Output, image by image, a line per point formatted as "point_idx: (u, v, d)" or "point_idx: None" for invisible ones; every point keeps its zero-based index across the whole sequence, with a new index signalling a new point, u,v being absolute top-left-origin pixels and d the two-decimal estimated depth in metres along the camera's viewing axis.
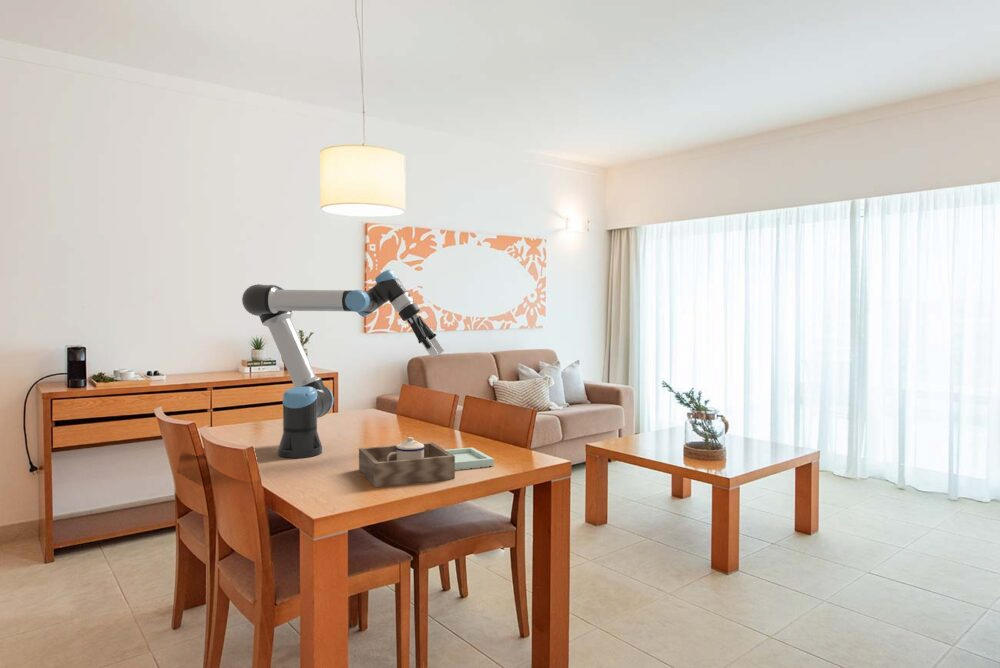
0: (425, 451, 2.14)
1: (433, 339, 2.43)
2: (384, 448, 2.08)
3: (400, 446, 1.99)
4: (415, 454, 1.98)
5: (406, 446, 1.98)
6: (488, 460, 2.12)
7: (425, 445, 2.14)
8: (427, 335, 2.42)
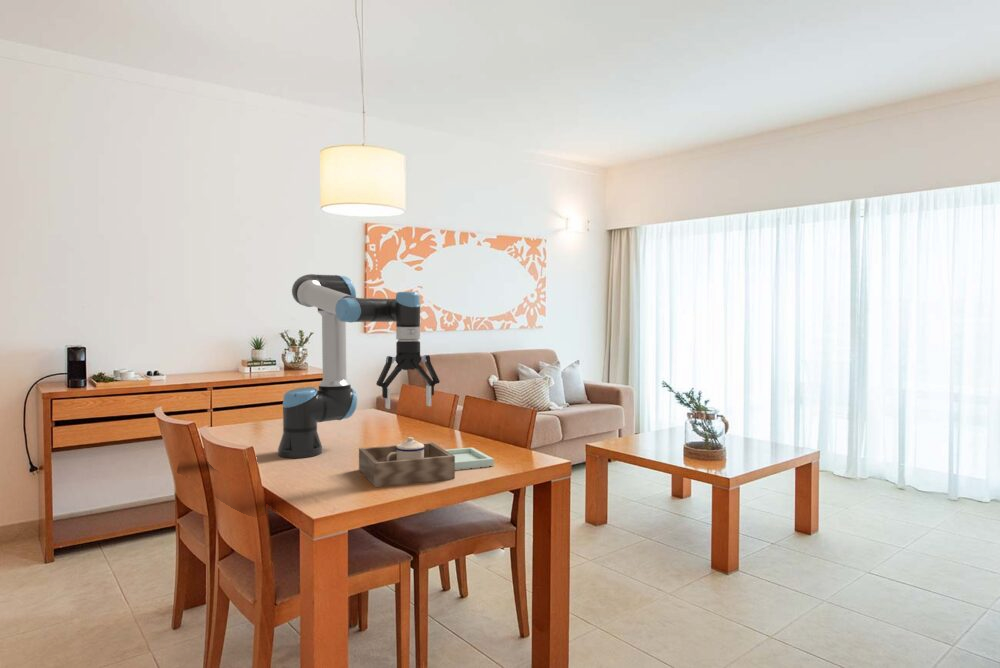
0: (425, 451, 2.14)
1: (428, 387, 2.04)
2: (384, 448, 2.08)
3: (400, 446, 1.99)
4: (415, 454, 1.98)
5: (406, 446, 1.98)
6: (488, 460, 2.12)
7: (425, 445, 2.14)
8: (425, 379, 2.04)
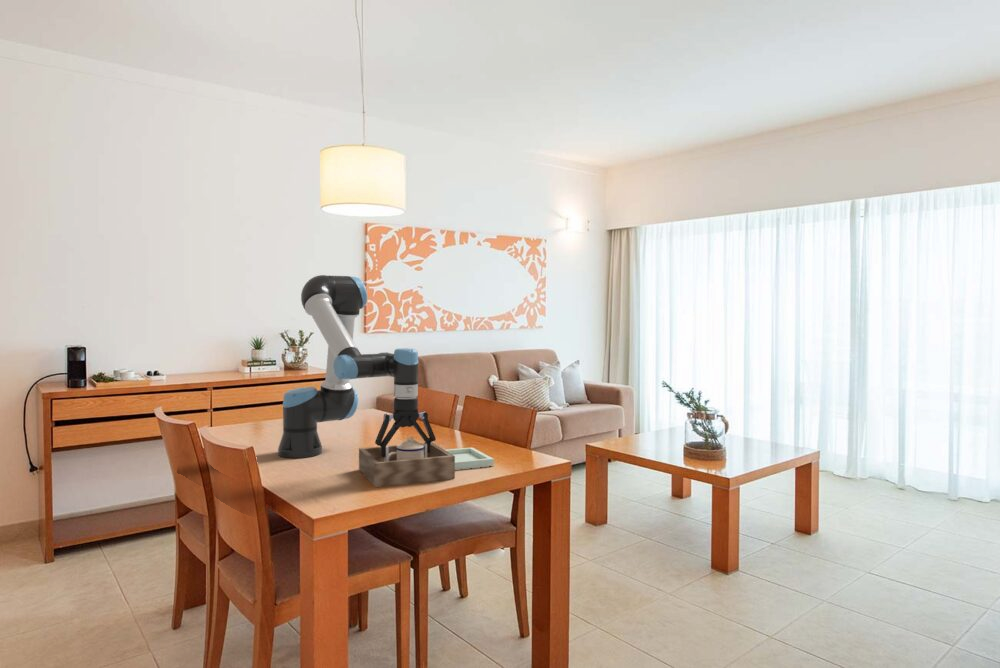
0: None
1: (424, 445, 2.03)
2: None
3: (400, 446, 1.99)
4: (416, 454, 1.98)
5: (406, 446, 1.98)
6: (488, 460, 2.12)
7: None
8: (421, 436, 2.04)
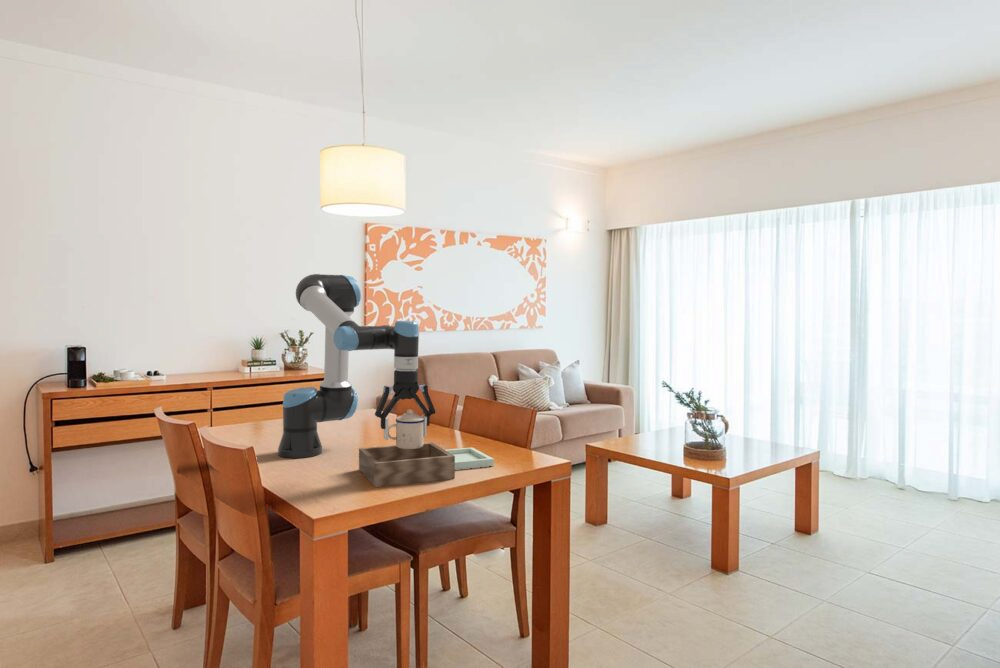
0: (425, 451, 2.14)
1: None
2: (384, 448, 2.08)
3: (400, 418, 1.99)
4: (415, 426, 1.98)
5: (406, 418, 1.98)
6: (488, 460, 2.12)
7: (425, 445, 2.14)
8: (421, 409, 2.03)
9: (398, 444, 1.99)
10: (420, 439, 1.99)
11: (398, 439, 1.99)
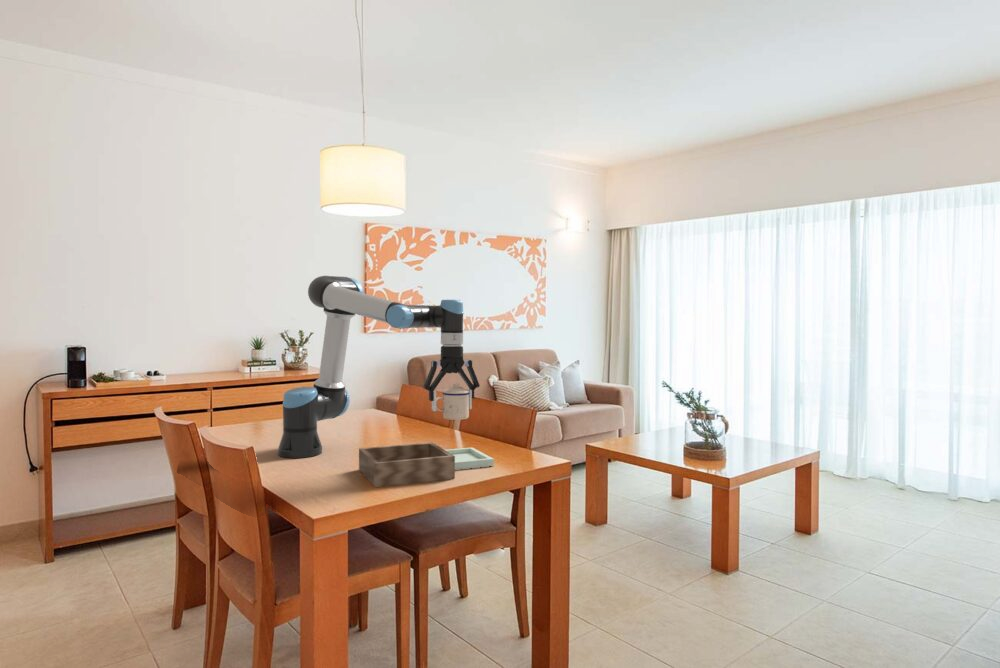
0: (425, 451, 2.14)
1: None
2: (384, 448, 2.08)
3: (447, 391, 2.11)
4: (461, 398, 2.10)
5: (453, 391, 2.10)
6: (488, 460, 2.12)
7: (425, 445, 2.14)
8: (466, 383, 2.16)
9: (445, 415, 2.11)
10: (466, 410, 2.12)
11: (445, 411, 2.11)
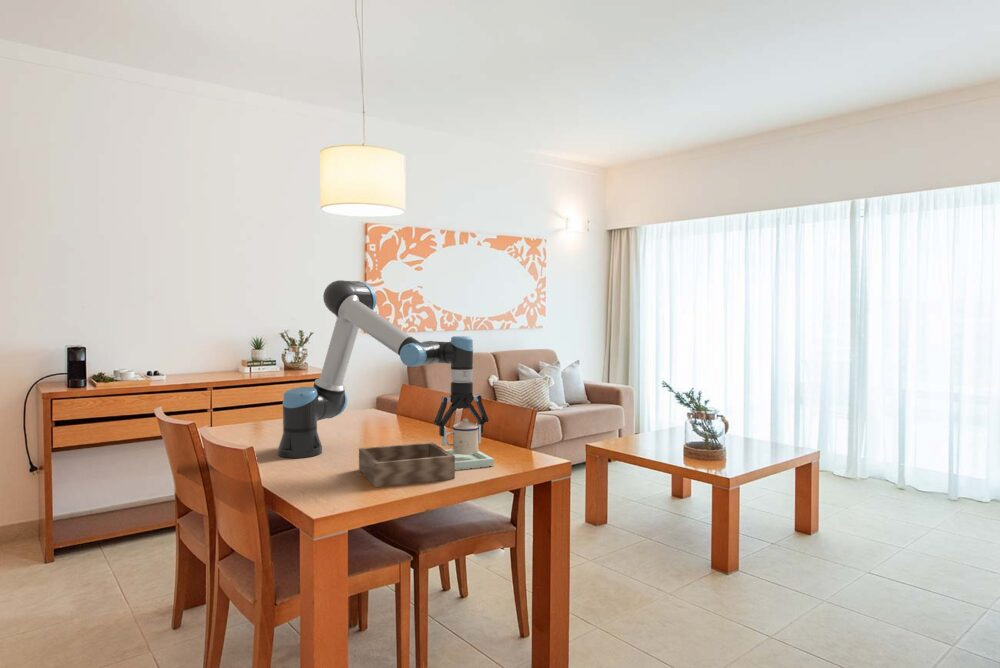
0: (425, 451, 2.14)
1: None
2: (384, 448, 2.08)
3: (457, 426, 2.15)
4: (471, 433, 2.14)
5: (463, 426, 2.14)
6: (488, 460, 2.12)
7: (425, 445, 2.14)
8: (475, 417, 2.20)
9: (455, 450, 2.15)
10: (476, 445, 2.16)
11: (455, 445, 2.15)
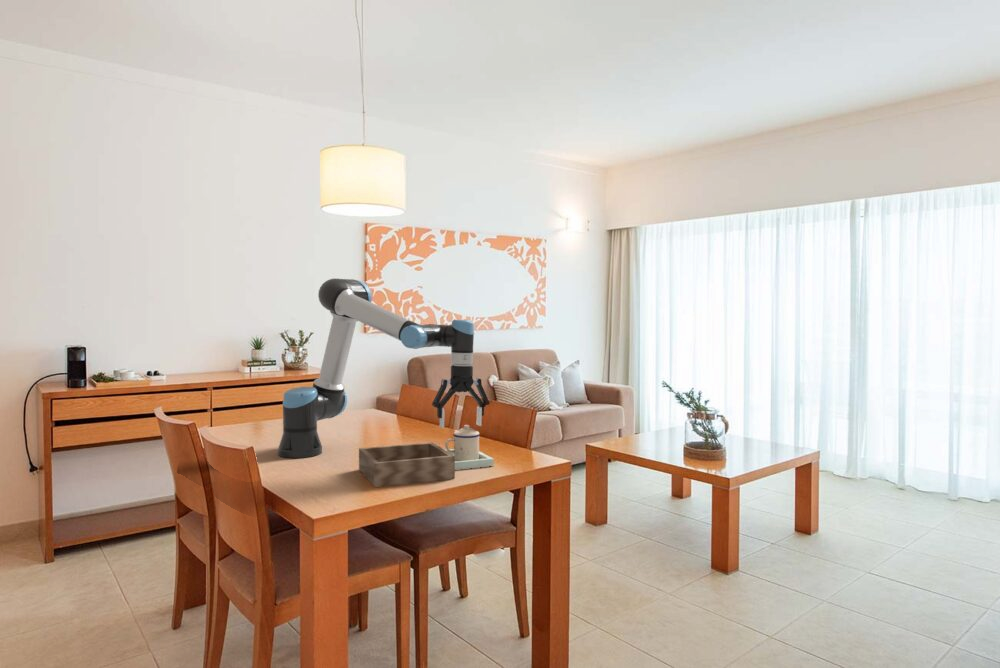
0: (425, 451, 2.14)
1: (478, 408, 2.19)
2: (384, 448, 2.08)
3: (457, 433, 2.15)
4: (472, 440, 2.14)
5: (463, 433, 2.15)
6: (488, 460, 2.12)
7: (425, 445, 2.14)
8: (476, 400, 2.20)
9: (456, 457, 2.15)
10: (476, 452, 2.16)
11: (456, 452, 2.15)
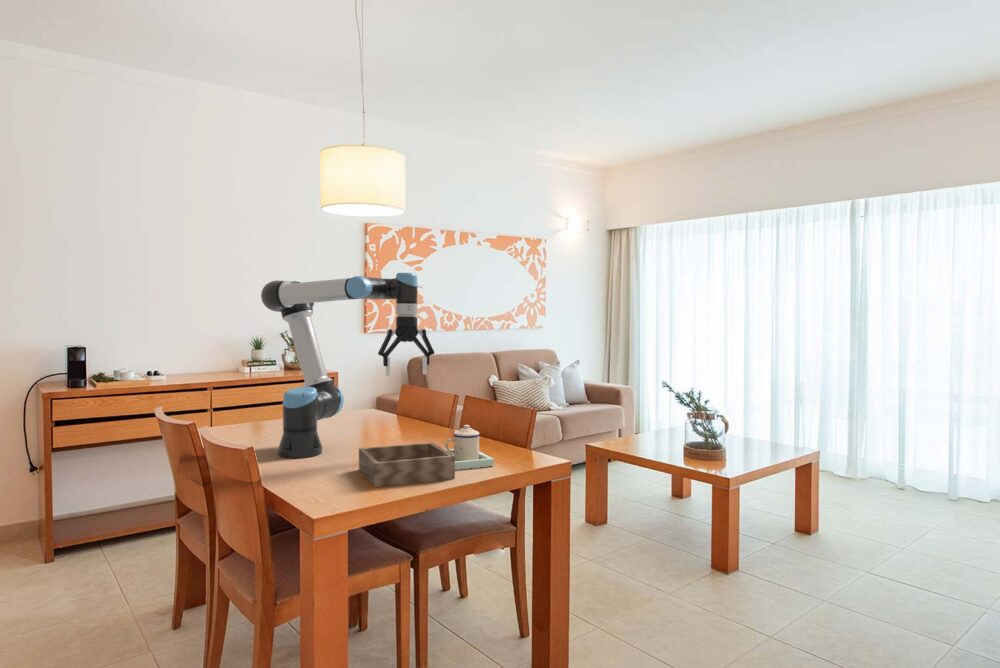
0: (425, 451, 2.14)
1: (424, 358, 2.30)
2: (384, 448, 2.08)
3: (458, 433, 2.15)
4: (472, 440, 2.14)
5: (463, 433, 2.15)
6: (488, 460, 2.12)
7: (425, 445, 2.14)
8: (421, 350, 2.31)
9: (456, 457, 2.15)
10: (476, 452, 2.16)
11: (456, 452, 2.15)
